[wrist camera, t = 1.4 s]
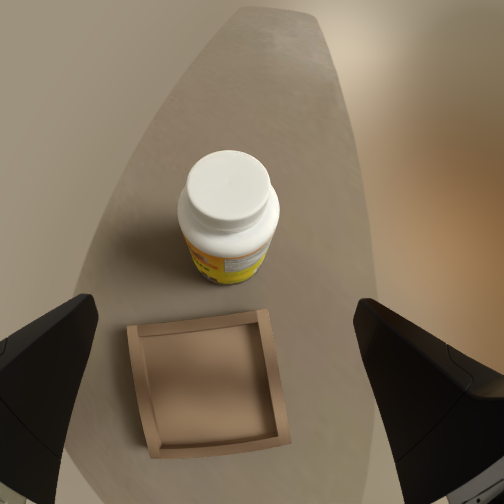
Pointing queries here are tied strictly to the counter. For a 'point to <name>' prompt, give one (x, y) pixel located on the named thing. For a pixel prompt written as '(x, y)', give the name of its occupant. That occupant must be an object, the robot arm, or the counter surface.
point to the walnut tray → (208, 386)
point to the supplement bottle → (228, 216)
